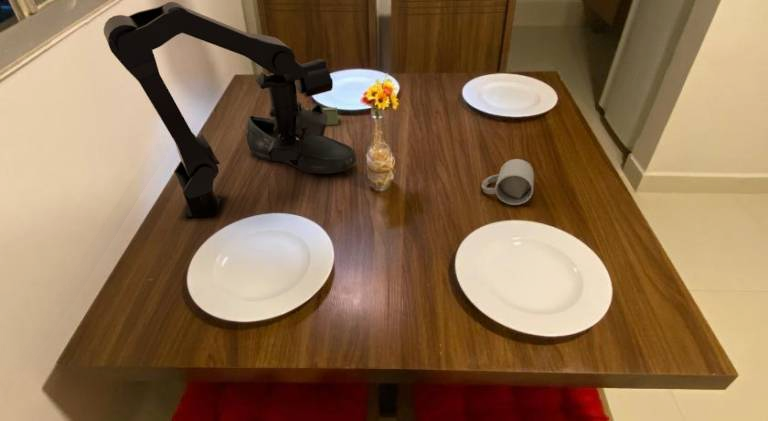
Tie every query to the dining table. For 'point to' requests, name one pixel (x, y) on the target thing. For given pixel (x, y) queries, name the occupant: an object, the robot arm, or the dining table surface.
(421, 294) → the dining table surface
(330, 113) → the rail
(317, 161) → the loafer
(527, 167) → the ceramic mug
